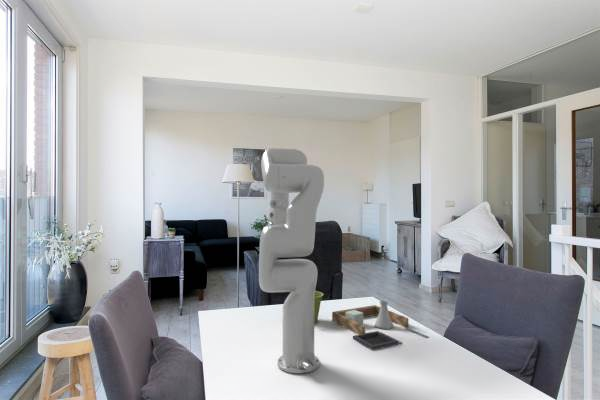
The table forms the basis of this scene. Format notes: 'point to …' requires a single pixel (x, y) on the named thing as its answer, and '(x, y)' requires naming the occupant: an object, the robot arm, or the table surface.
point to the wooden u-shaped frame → (367, 311)
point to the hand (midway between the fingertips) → (279, 246)
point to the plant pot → (317, 305)
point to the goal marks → (411, 331)
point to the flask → (383, 317)
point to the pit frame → (375, 340)
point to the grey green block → (355, 316)
